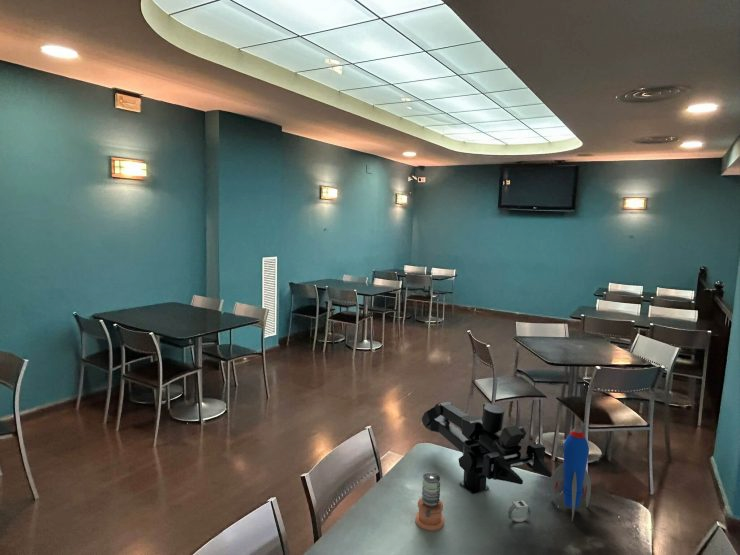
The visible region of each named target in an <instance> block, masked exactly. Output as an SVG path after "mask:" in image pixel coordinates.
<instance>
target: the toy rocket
mask: <svg viewBox="0 0 740 555" xmlns="http://www.w3.org/2000/svg"><path fill="white" fill-rule="evenodd" d="M562 448H563V450H562V451H563V463H561V464H560V465H558V467H556V469H555V470H554V472H553V474H552V476H551V477H550V484H549V494H550V501H551V502H553V500H554V497H555V495H556V492H557V489H558V487H559V486H560V485H561V483H563V485H562V493H563V503H564V504H565V506H566V507H569V508H571V521H572V522H573V521H574V516H575V510H576V509H577V508H579V507H580V503H581V499H582V497H583V493H584V498H585V505H586V508H588V506H589V503H590V498H591V492H592V484H591V483H592V482H591V478H590V474H589V473H588V471H587V463H588V459H589V454H590V448H589V443H588V441H587V438H586V435H585V434H584V431H582V428H581V427H580V425H579V424H577V425H576V426H574V428H573V429H572V430H570V432H569V434H568V435H567V437H566V438H565V440H564V442H563V447H562Z"/></svg>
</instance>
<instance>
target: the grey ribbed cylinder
mask: <svg viewBox="0 0 740 555" xmlns="http://www.w3.org/2000/svg"><path fill="white" fill-rule="evenodd" d="M422 479H423V480H422V485H421V486H422V487H421V490H422V491H421V498H422V502H423V504H424V506H426V507H428V508H436V507H437V506H438V504H439V503H440V501H441V500H440V498H441V476H440V475H439V474H438V473H436V472H425V473H424V474H423V477H422Z"/></svg>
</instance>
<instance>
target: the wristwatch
mask: <svg viewBox="0 0 740 555" xmlns="http://www.w3.org/2000/svg"><path fill="white" fill-rule="evenodd" d="M515 509H516V510H524V509H527V512H526V513H525V514H524V516H522V517H519V518H515V517H512V513H513V512H514V510H515ZM507 515H508V517H509V519H510V520H511V521H514V522H516V523H523V522H525V521H527V520H528V519H529V518H530V517H531V515H532V510H531V507H530V506H529V505H528V504H527V503H526V502H525V501H524V500H517V501H512V504H511V505H510V507H509V508H508V511H507Z"/></svg>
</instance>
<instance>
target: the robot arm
mask: <svg viewBox="0 0 740 555" xmlns="http://www.w3.org/2000/svg"><path fill="white" fill-rule="evenodd" d="M505 413H506V408H505V407H503V406H501V405H497V404H493V403H492V404H491V403H490V402H487V403H485V402H484V403H483V404H482V417H480V416H473V415H469V414H468V413H466V412H465V411H462V410H461V409H460V408H458V407H457V406H455V405H454V404H453V403H452V402H450V401H445V402H438V403H437V404H435V405H434V406H433V407H431V408H430V409H429V410H427V411H424V413H423V415H422V417H421V422H422V424H423V426H424V428H426V430H428V431H431V432H435V433H439V434H440V435H441V436H443V437H444V438H445V439H446V440H447V441H448V442H450V444H452V445H453V446H454V447H455V448H456V449H457V450H459V451H460V452H461V453H462V455H461V456H460V457H459V458H458V465H459V467H460V468H461V469H462V470H463V480H461V481H459V485H461V486H462V487H463V488H465V489H466V490H467V491H468V492H469V493H471V494H473V495H476V494H478V493H481V492H484V491H487V490H489V489H490V486H488V485H487V480H493V481H494V480H495V481H496V480H497V481H503V482H508V483H513V484H516V485H523V484H524V480H523V479H522V478H521V477H520V475H519V474H517V472H515V471H514V470H513V469H512V468H516V467H518V466H521V465H525V464H526V467H528V468H529V469H531V470H532V471H533V472H535V473H537V474H540V475H543V476H545V477H548V478H552V475H553V474H552V471H551V470H550V468H549V467H548V465H547V463H546V462H545V454H546V446H544V445H542V444H541V443H540V442H539V443H534V444H529V445H527V446H526V453H521V451H522V445H521V444H520V443H521V441H522V440H523V439H525V437H526V435H527V431H526V429H525V428H524V427H523V426H521V425H517V424H515V425H510V426H504V422H505ZM500 431H501V433H500V434H499V432H500Z"/></svg>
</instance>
